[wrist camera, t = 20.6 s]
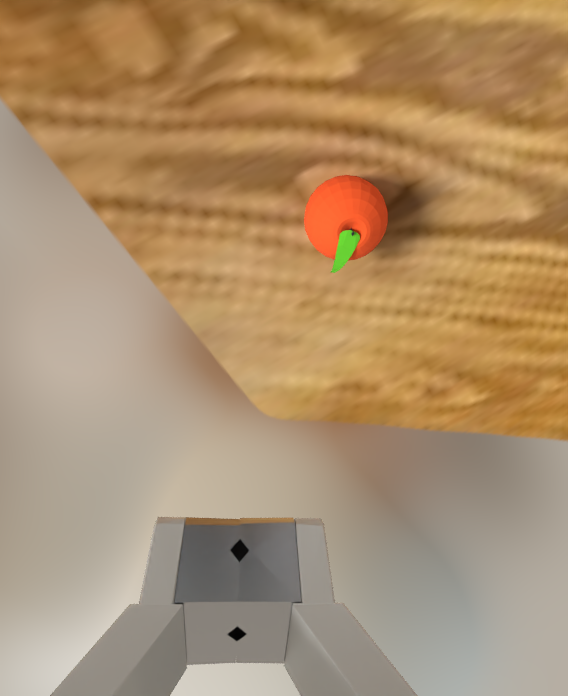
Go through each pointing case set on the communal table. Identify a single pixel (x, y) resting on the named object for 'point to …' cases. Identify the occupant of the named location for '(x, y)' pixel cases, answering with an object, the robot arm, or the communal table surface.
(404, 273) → the communal table surface
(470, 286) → the communal table surface
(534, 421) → the communal table surface
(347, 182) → the clementine
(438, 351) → the communal table surface
